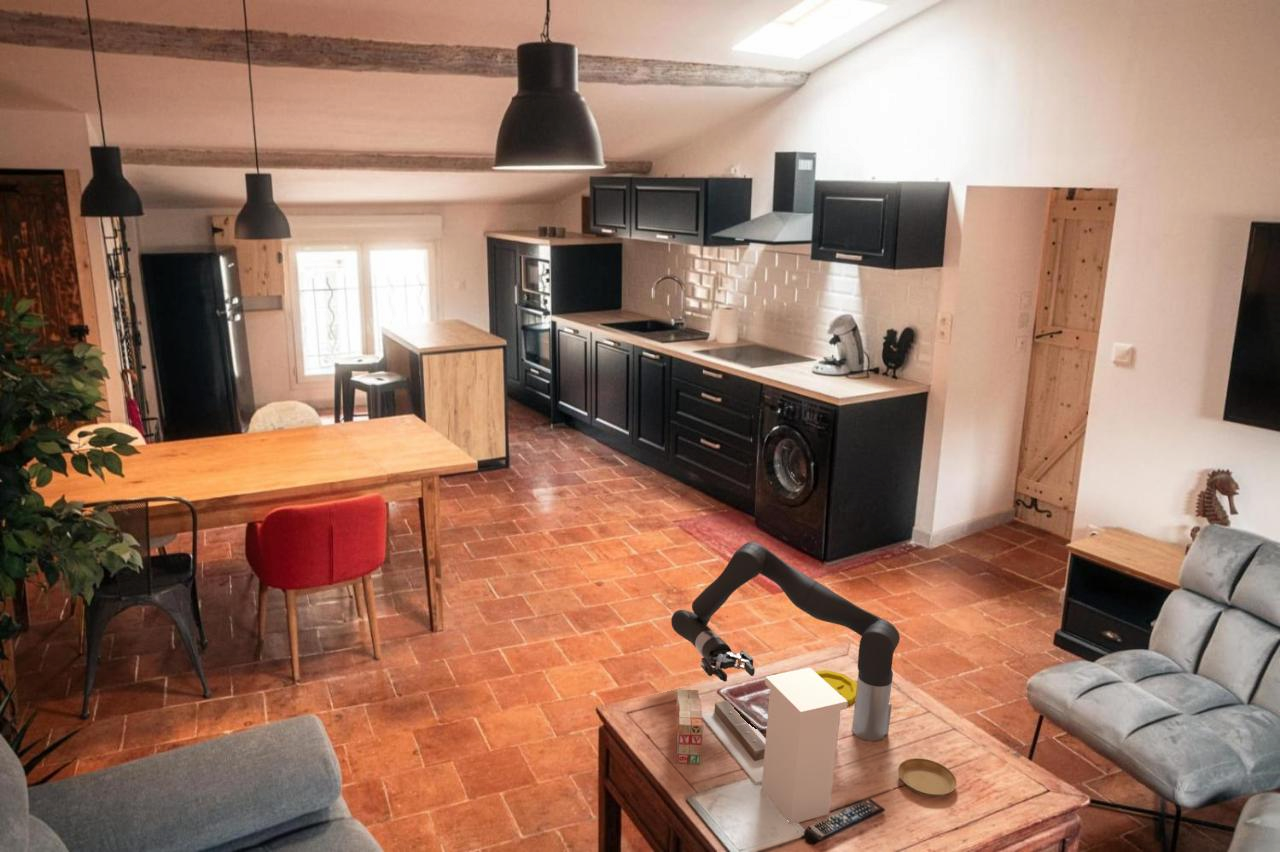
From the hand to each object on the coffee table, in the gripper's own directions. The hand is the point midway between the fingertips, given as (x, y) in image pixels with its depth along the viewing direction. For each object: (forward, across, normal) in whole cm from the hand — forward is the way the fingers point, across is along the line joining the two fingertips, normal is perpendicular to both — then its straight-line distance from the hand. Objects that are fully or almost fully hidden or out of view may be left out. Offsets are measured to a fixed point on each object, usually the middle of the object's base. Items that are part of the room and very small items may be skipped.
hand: (739, 675), depth 247 cm
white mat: (+6, 0, +18) cm, 19 cm away
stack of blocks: (-1, -14, +18) cm, 23 cm away
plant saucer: (+37, +36, +19) cm, 55 cm away
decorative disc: (-9, +38, +18) cm, 43 cm away
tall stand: (+31, 0, +18) cm, 36 cm away
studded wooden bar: (+2, 0, +17) cm, 17 cm away
